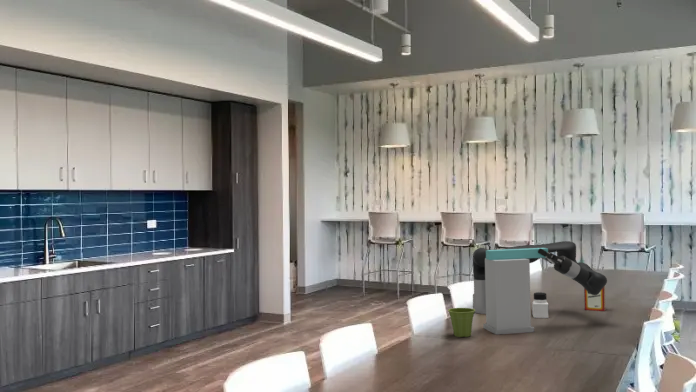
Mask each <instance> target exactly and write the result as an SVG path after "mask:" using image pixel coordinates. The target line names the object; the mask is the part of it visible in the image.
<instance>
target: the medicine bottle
mask: <svg viewBox="0 0 696 392" xmlns="http://www.w3.org/2000/svg"><path fill="white" fill-rule="evenodd" d="M531 305H532V306H531V310H532V313H531V314H532V315H531V316H533V318H534V319H549V318H550V315H549V314H550V313H549V311H550V309H549V303H548V301H547V293H546V292H543V291H538V292H537V291H536V292H534V293H533V301H532V302H531Z"/></svg>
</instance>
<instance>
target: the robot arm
mask: <svg viewBox="0 0 696 392" xmlns="http://www.w3.org/2000/svg"><path fill="white" fill-rule="evenodd" d="M528 248H547V249H548V252H546V251H544V250H543V249H539V250H538V253H539V254H541V255H543V256H545V257H546V258H525V259H529V260H530V264H532V263H535V262H536V261H538V260H539V259H542V260H544V261H545V262H548V264H550V265H553V269H554V270H555V271H556V272H557V273H559V274H561V275H563V276H565V277H566V278H569V279H571V280H573V281H575V282H577V283H578V284H580V285H581V286H582V287H583V289H584V288H585V289H586V290H587V291H588V292H589V293H590V294H592V295H597V294H599V293H600V291H601V290H602V289H603V287H604V286H605V287H606V285H607V283H608V279H607V277H606V276H605V275H604V274H603V273H600V272H597V271H596V270H593V268H591V266H589V265H588V264H587V263H585V262H581V261H579V262H577V260H576V258H577V245H576V243H575V242H573V241H568V240H565V241H562V240H561V241H557V242H550V243H544V244H543V243H541V244H529V245H528V244H525V245H516V246H510V247H507V248H502V249H499V250H504V249H528ZM486 250H489V249H487V248H485V247H479V248H476V249H475V250H474V252H473V253H472V270H473V272H472V273H473V294H472V309H475V312H474V314H480V315H481V314H482V315H486V289H485V258H486ZM554 253H556V254H554Z"/></svg>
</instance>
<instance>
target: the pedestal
mask: <svg viewBox="0 0 696 392" xmlns="http://www.w3.org/2000/svg"><path fill="white" fill-rule="evenodd" d="M530 264H531V263H530V260H529V259H525V258H524V259H502V260H487V259H486V258H485V289H486V314H485V320H486V321H485V322H486V323H483V329H484V330H486V331H488V332H490V333H492V334H494V335H508V334H523V333H535V327H534V326H532V318H531V317H532V315H531V314H532V313H531V310H532V306H531V305H532V303H531V271H530V270H531V267H530V266H531V265H530Z"/></svg>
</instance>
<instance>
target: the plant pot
mask: <svg viewBox="0 0 696 392" xmlns="http://www.w3.org/2000/svg"><path fill="white" fill-rule="evenodd" d="M447 312H449V317H450V321H451V325H452V331H453V336H454V337H456V338H463V337H466V338H468V337H471V335H472V330H473V329H472V328H473V321H474V316H475V315H474V314H475V313H474V312H475V309H473V308H470V307H453V308H449V309H447Z"/></svg>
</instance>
